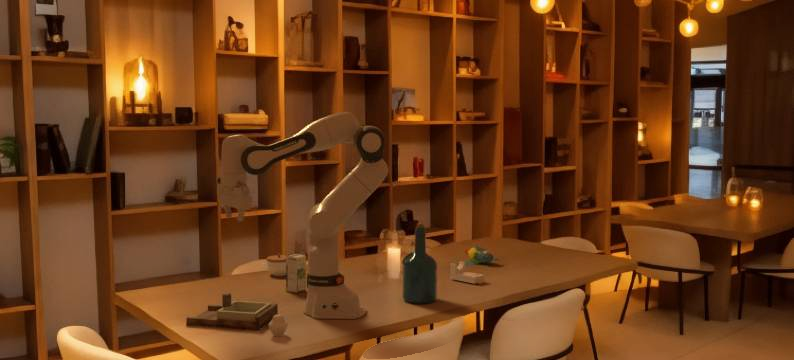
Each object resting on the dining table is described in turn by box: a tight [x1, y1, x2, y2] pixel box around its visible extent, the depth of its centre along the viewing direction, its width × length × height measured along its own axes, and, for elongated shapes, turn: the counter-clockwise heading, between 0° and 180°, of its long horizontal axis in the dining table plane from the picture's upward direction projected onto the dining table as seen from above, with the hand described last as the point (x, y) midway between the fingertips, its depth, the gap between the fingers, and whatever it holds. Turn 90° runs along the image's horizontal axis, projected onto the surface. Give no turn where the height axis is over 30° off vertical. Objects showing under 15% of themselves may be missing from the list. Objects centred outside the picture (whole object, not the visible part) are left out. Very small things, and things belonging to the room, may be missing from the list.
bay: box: [185, 303, 279, 331], centre depth 251 cm, size 26×17×4 cm, turn 78°
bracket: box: [449, 261, 485, 285], centre depth 313 cm, size 13×7×8 cm, turn 47°
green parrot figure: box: [455, 245, 501, 267], centre depth 351 cm, size 28×9×15 cm
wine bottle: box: [401, 222, 438, 305], centre depth 280 cm, size 14×13×30 cm
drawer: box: [217, 292, 272, 322], centre depth 250 cm, size 15×14×8 cm
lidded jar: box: [266, 253, 288, 277], centre depth 323 cm, size 11×11×9 cm
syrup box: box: [285, 253, 307, 294], centre depth 294 cm, size 6×6×14 cm
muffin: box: [267, 314, 288, 337], centre depth 235 cm, size 6×6×7 cm
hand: (234, 219), depth 258 cm, fingers open, 8 cm apart
